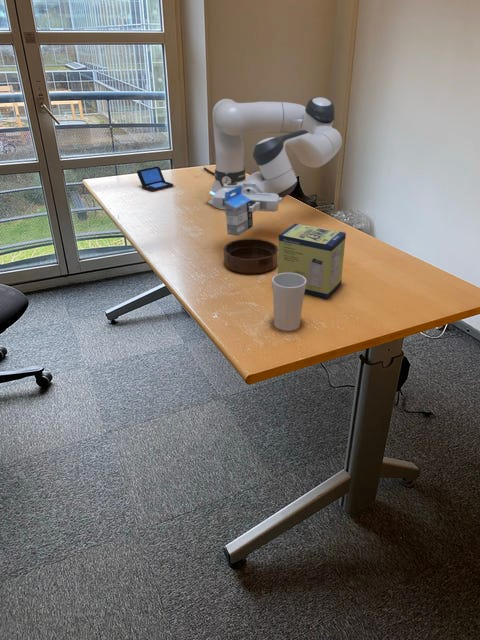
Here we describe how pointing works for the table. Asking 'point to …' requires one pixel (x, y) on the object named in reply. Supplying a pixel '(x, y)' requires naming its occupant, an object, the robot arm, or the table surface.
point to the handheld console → (152, 179)
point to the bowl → (250, 255)
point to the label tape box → (237, 212)
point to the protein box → (313, 257)
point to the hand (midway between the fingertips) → (240, 209)
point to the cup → (288, 300)
